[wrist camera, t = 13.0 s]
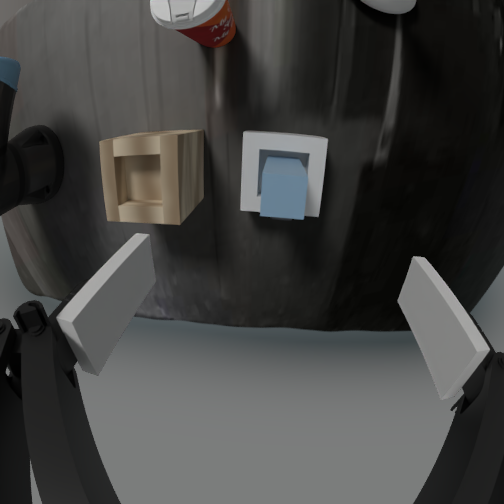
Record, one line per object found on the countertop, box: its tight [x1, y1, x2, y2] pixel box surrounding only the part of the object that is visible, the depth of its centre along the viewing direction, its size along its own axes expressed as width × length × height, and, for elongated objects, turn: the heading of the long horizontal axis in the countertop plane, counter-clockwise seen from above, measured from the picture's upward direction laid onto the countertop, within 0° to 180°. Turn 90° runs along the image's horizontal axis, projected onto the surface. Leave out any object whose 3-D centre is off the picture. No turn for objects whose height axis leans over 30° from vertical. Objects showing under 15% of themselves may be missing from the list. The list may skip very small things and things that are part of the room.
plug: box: [260, 155, 308, 221], centre depth 30 cm, size 4×5×12 cm
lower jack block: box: [241, 131, 328, 217], centre depth 35 cm, size 10×10×4 cm
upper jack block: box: [99, 130, 204, 225], centre depth 33 cm, size 10×10×10 cm
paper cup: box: [150, 0, 236, 48], centre depth 22 cm, size 8×8×14 cm
